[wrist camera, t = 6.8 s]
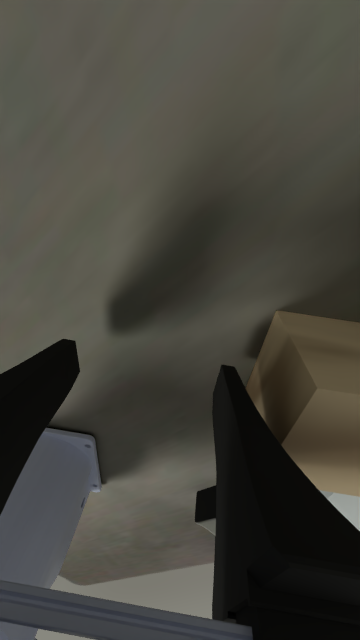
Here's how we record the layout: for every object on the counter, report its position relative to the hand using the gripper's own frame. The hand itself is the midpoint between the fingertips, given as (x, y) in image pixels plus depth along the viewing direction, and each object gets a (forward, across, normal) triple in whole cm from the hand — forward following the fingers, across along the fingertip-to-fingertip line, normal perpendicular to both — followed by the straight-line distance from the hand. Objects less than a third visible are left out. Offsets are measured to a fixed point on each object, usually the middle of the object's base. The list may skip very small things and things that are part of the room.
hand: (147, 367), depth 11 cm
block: (+2, -9, 0) cm, 9 cm away
